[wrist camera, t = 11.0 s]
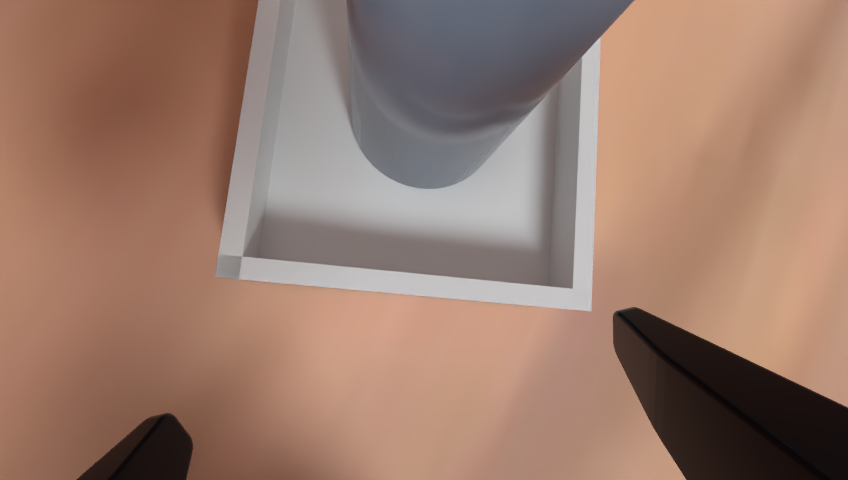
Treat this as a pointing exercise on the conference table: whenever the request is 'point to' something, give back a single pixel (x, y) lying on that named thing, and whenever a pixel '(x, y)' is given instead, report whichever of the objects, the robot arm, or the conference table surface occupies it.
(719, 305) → the conference table surface
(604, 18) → the canister
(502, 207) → the tray
